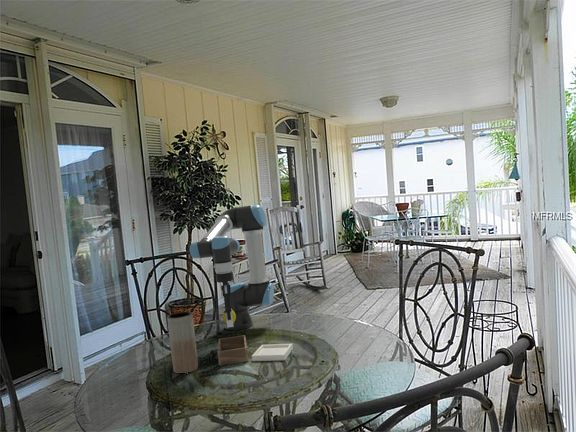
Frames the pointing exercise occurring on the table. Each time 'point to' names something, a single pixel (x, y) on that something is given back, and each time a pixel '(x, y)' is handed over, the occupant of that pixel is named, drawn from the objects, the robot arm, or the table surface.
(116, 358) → the table surface
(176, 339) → the planter
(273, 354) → the plate
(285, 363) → the table surface
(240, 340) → the open wooden box frame
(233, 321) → the fruit
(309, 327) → the table surface
